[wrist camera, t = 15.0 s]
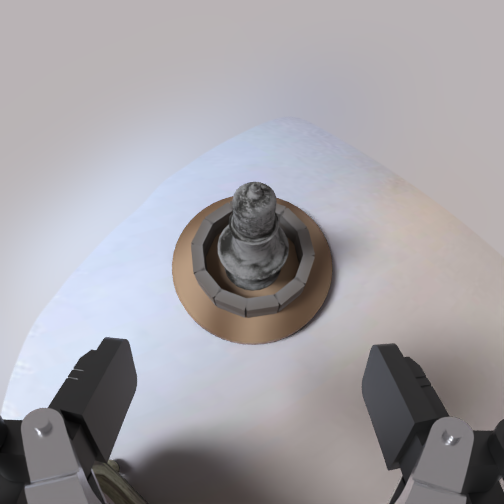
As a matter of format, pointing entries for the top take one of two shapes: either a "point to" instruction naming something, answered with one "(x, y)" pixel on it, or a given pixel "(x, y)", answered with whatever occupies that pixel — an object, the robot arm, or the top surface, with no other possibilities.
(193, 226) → the socket stand
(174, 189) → the top surface
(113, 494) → the tabletop clock
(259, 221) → the grey tall piece
